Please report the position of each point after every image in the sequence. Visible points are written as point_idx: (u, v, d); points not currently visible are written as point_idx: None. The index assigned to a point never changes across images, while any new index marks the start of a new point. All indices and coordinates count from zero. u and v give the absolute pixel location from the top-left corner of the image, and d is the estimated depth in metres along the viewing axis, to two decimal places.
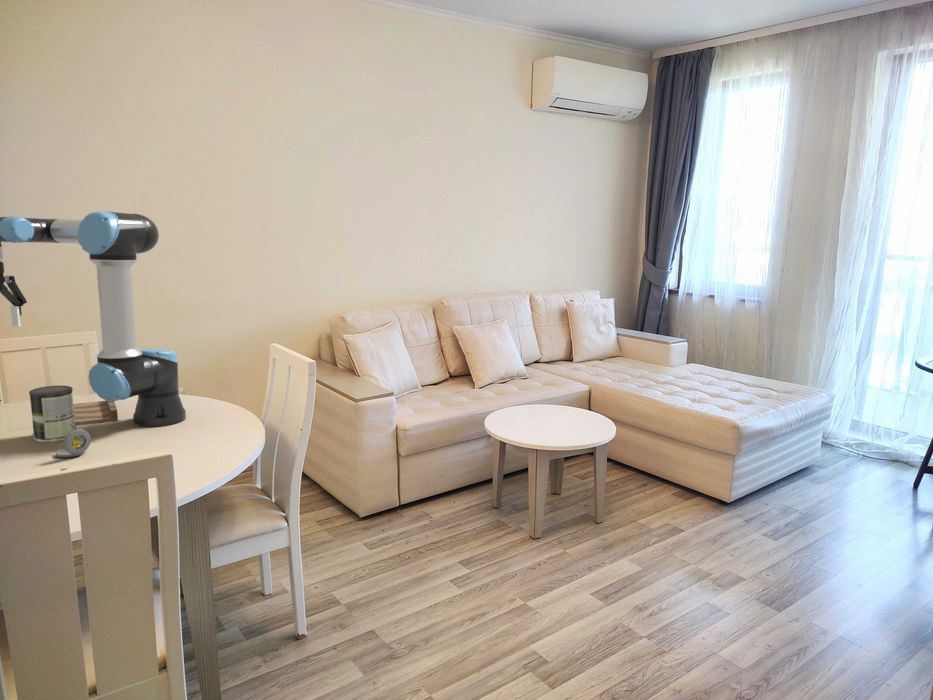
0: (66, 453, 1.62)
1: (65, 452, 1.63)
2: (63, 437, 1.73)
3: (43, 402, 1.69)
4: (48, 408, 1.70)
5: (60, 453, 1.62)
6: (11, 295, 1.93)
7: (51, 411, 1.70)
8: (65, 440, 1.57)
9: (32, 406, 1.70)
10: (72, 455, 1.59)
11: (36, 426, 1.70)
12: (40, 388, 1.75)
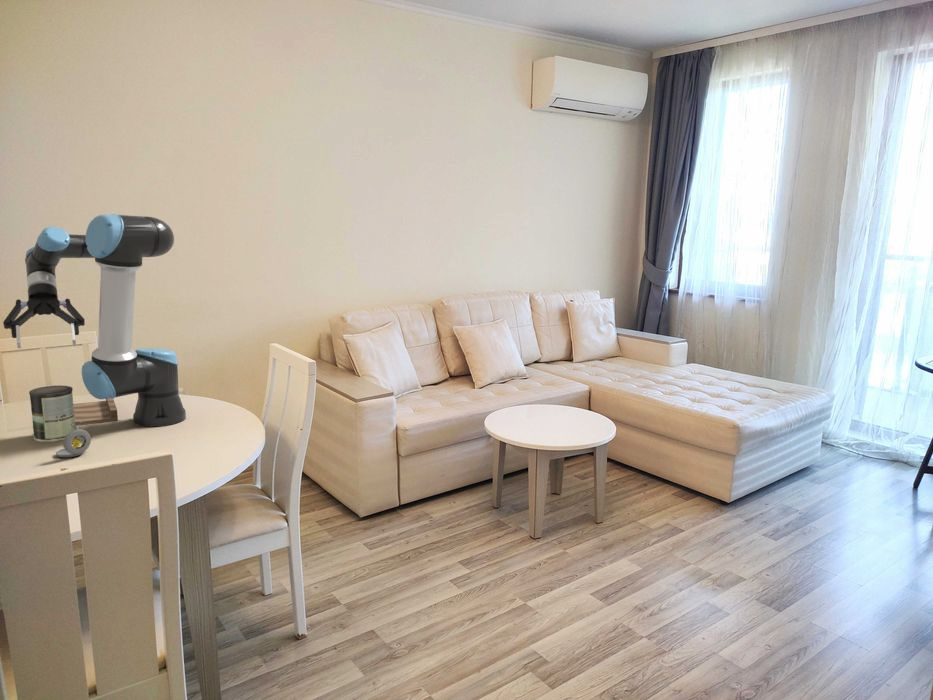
0: (66, 453, 1.62)
1: (65, 452, 1.63)
2: (63, 437, 1.73)
3: (43, 402, 1.69)
4: (48, 408, 1.70)
5: (60, 453, 1.62)
6: (65, 314, 1.87)
7: (51, 411, 1.70)
8: (65, 440, 1.57)
9: (32, 406, 1.70)
10: (72, 455, 1.59)
11: (36, 426, 1.70)
12: (40, 388, 1.75)
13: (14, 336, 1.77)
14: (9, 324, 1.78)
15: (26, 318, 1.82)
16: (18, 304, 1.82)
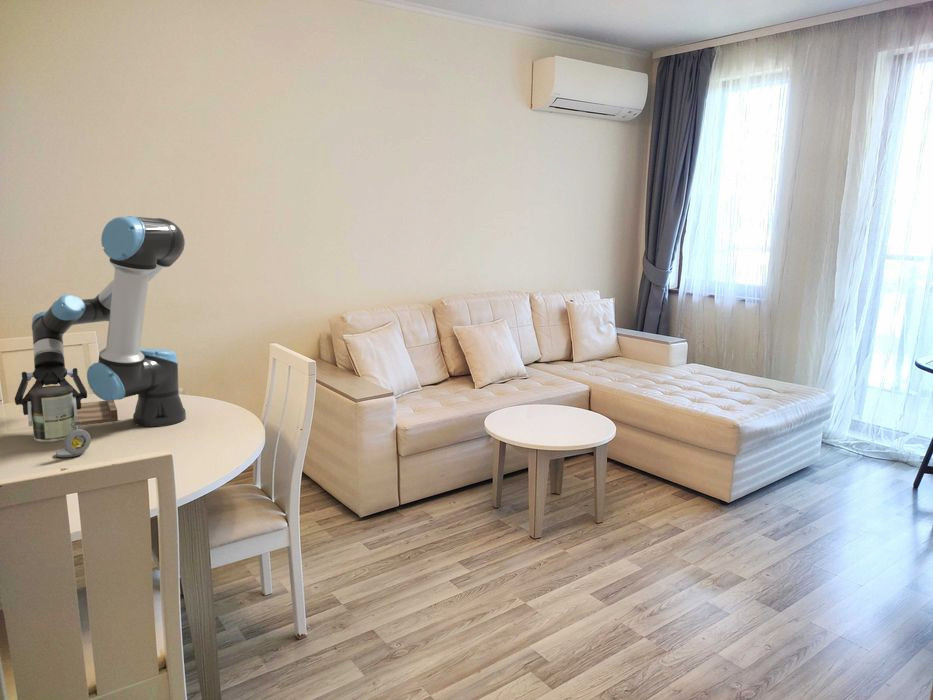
0: (66, 453, 1.62)
1: (65, 452, 1.63)
2: (63, 437, 1.73)
3: (43, 402, 1.69)
4: (48, 408, 1.69)
5: (60, 453, 1.62)
6: None
7: (51, 411, 1.70)
8: (65, 440, 1.57)
9: (32, 406, 1.70)
10: (72, 455, 1.60)
11: (36, 426, 1.70)
12: (40, 388, 1.75)
13: (26, 413, 1.70)
14: (20, 400, 1.71)
15: None
16: (25, 377, 1.75)
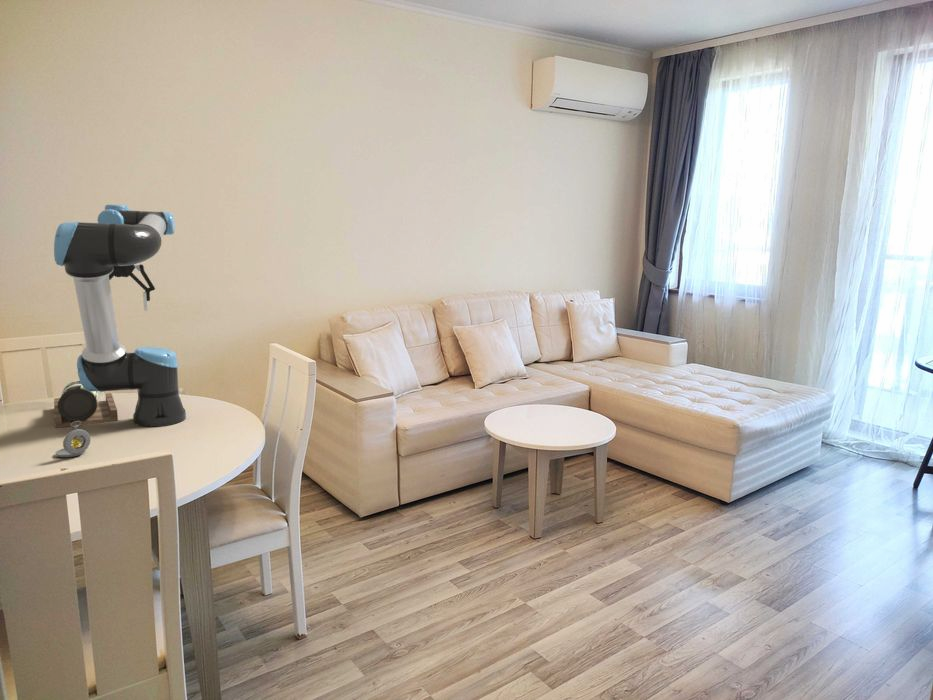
0: (66, 453, 1.62)
1: (65, 452, 1.63)
2: None
3: None
4: None
5: (60, 453, 1.62)
6: (139, 282, 2.14)
7: None
8: (65, 440, 1.57)
9: None
10: (72, 455, 1.60)
11: None
12: (64, 397, 1.84)
13: None
14: None
15: None
16: None
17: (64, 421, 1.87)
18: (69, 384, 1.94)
